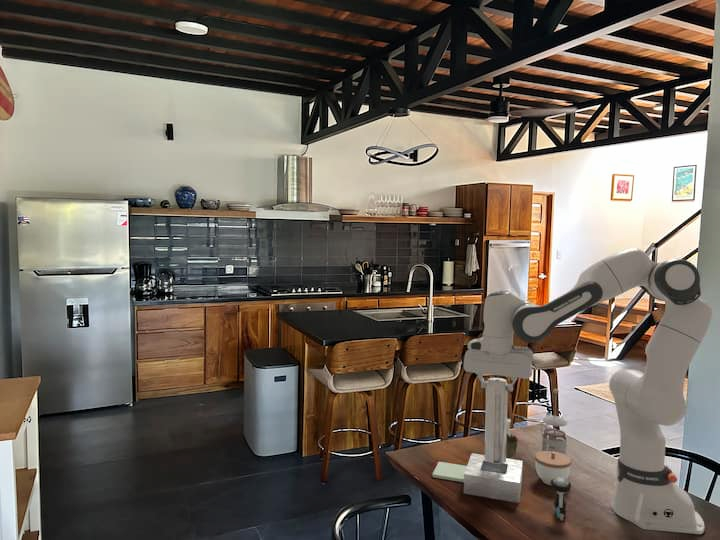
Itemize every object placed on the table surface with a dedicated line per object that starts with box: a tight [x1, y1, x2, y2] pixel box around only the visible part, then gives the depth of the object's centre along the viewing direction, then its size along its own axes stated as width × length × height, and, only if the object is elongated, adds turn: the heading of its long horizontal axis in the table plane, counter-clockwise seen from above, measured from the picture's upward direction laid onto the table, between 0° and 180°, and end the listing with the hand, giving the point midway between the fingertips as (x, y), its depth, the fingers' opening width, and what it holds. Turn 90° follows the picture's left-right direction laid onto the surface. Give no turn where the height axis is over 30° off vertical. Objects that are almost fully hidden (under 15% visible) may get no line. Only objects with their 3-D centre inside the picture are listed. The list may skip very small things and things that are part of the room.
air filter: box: [484, 377, 509, 464], centre depth 161 cm, size 6×6×25 cm
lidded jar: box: [534, 450, 572, 486], centre depth 166 cm, size 11×11×9 cm
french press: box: [540, 388, 568, 455], centre depth 182 cm, size 10×12×25 cm
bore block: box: [463, 452, 524, 504], centre depth 162 cm, size 16×16×6 cm
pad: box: [431, 461, 467, 483], centre depth 171 cm, size 10×10×1 cm
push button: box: [550, 477, 572, 521], centre depth 146 cm, size 7×5×10 cm
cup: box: [506, 434, 519, 459], centre depth 181 cm, size 8×7×8 cm
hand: (496, 389), depth 161 cm, fingers closed on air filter, 6 cm apart
